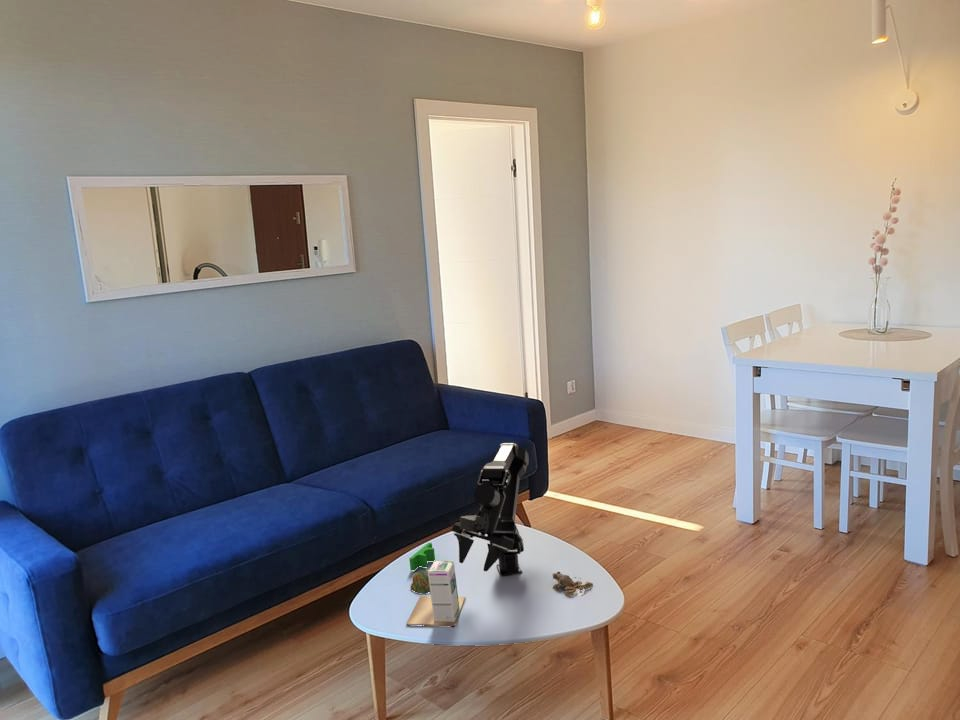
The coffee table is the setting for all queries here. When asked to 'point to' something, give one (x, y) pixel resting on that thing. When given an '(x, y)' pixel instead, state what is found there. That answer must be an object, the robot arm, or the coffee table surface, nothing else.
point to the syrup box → (443, 591)
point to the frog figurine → (570, 584)
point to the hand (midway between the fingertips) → (472, 567)
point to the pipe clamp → (422, 557)
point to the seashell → (420, 582)
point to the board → (429, 613)
